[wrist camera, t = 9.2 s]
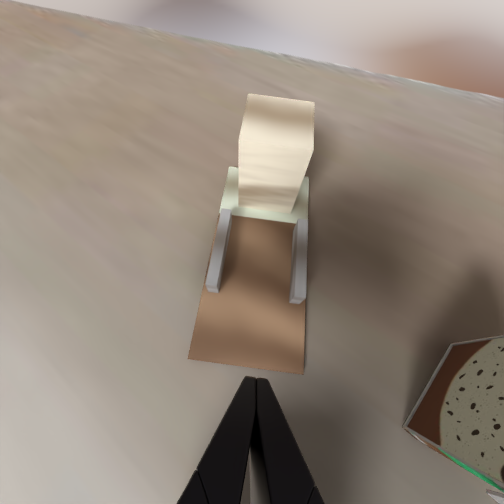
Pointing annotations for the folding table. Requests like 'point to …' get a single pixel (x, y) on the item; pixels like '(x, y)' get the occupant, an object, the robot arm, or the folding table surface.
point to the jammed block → (274, 151)
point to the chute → (255, 286)
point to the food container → (466, 410)
